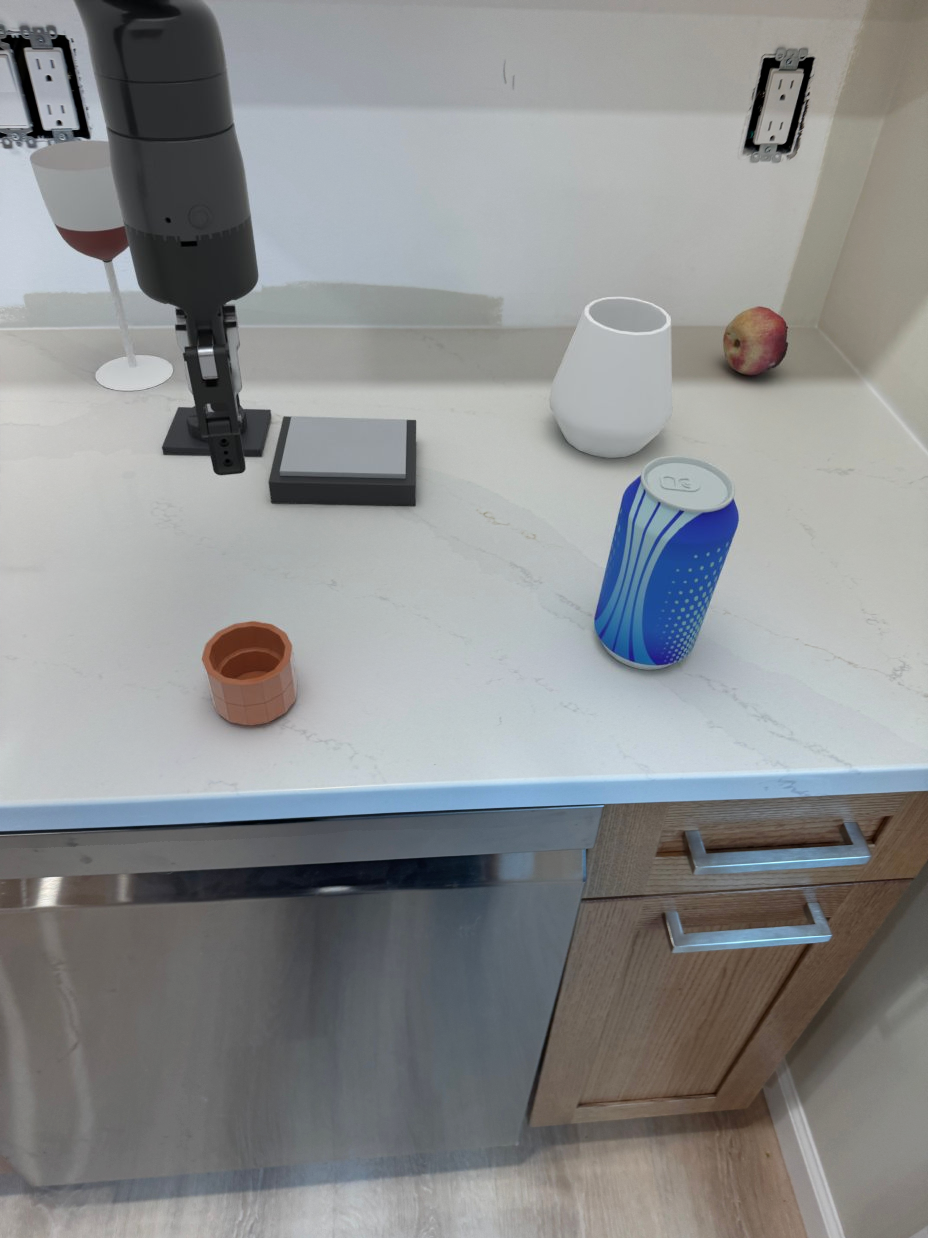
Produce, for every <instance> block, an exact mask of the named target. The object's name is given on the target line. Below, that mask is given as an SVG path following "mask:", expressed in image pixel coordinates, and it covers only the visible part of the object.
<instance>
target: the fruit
mask: <svg viewBox="0 0 928 1238" xmlns="http://www.w3.org/2000/svg"><path fill="white" fill-rule="evenodd" d="M788 329H789V326H788V325H787V322H786V321H785V319H784V317H782V316H781V315H780V314H778V313H777V312H776V311H774V310H772V309H771V308H770V307H769V308H768V307H764V306H758V305H757V306H755V307H751V308H748V309H746V310H743V311H742V312H739V313H738V314H737V315H736V316H735V317H734V318H733V319H732V320H731V321H730V322H729V323H728V324H727V326H726V328H725V331H724V333H723V339H722V344H723V345H722V349H723V354H724V358H725V359H726V361H727V363H728V365H730V367H731V368H732V369H733V370H734V371H736V372H738V373H739V374H742V375H745V376H758V375H760V374H762V373H763V372H765V371H770V370H772V369H775V368H777V367H779V365H780V364H781V363H782V361H783V360H784V359H785V358H786V355H787V351H788V347H789V342H787V339H788Z"/></svg>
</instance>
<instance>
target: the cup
mask: <svg viewBox="0 0 928 1238" xmlns="http://www.w3.org/2000/svg"><path fill="white" fill-rule="evenodd" d="M672 363H673V362H672V319H671V315H670V314H669V313H668V312H667V311H666V310H665V309H664V308H661V307H660V306H658V305H656V304H654V303H652V302H650V301H646V300H643V299H641V298H636V297H629V296H628V297H627V296H607V297H603V298H598V299H595V300H591V302H589V303H587V305H585V306H584V309H583V311H582V313H581V316H580V318H579V320H578V322H577V325H576V328H575V330H574V332H573V335H572V337H571V339H570V342H569V344H568V346H567V349H566V351H565V353H564V355H563V358H562V360H561V362H560V365H559V367H558V370H557V372H556V374H555V376H554V379H553V381H552V384H551V388H550V391H549V399H548V402H549V408H550V410H551V413H552V414H553V417H554V418H555V421H556V423H557V425H558V427H559V429H560V431H561V433H562V435H563V436H564V438H565V440H566V441H567V443H568V444H569V445H570V446H572V447H573V448H575V449H576V450H577V451H580V452H582V453H585V454H588V455H590V456H593V457H599V458H600V457H601V458H606V459H617V458H626V457H629V456H631V455H633V454H637V453H639V452H640V451H641V450H642V449H643V448H644V447H646V446H647V444H649V443H650V442H651V441H652V440H653V439H654V438H655V437H657V435H658V434H660V433H661V432H662V430H663V429H664V428H665V427H666V426H667V425H668V423H669V422H670V420H671V418H672V417H673V373H672V372H673V369H672Z"/></svg>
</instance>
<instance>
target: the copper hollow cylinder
mask: <svg viewBox="0 0 928 1238" xmlns="http://www.w3.org/2000/svg"><path fill="white" fill-rule="evenodd" d="M201 662H202V666H203V670H204V674H205V679H206V683H207V686H208V690H209V694H210V699H211V701H212V705H213V707H214V709H215V711H216V713H217V714H218V715H219V716H220V717H222V718H223V719H225V720H226V721H227V722H229V723H233V724H238V725H244V726H249V727H250V726H257V725H263V724H267V723H270V722H272V721H274V720H275V719H277V718H279V717H281V716H283V715H284V714H286V713H287V712H288V710H289V709H290V708H291V707H292V705H293V704H294V703H295V701H296V699H297V693H298V680H297V673H296V672H297V671H296V664H295V656H294V649H293V644H292V642H291V640H290V638H289V636H288V634H287V633H286V632H285V631H284V630H282V629H280V628H279V627H277V626H275V625H274V624H272V623H269V622H268V623H267V622H261V621H256V620H252V621H244V622H238V623H237V622H236V623H233V624H231V625H228V626H227V627H224V628H223V629H220V630H218V631H217V632H216V633H215V634H214V635H213V636H212V637H211V638H210V639H209V640H208V641H207V642H206V643H205V645H204V649H203V652H202V655H201Z"/></svg>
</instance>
